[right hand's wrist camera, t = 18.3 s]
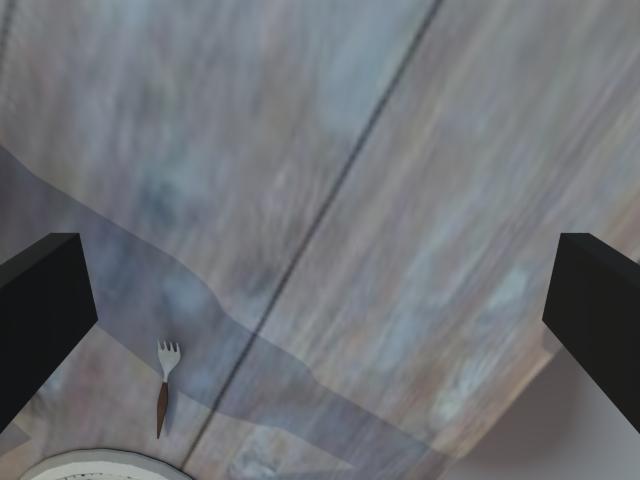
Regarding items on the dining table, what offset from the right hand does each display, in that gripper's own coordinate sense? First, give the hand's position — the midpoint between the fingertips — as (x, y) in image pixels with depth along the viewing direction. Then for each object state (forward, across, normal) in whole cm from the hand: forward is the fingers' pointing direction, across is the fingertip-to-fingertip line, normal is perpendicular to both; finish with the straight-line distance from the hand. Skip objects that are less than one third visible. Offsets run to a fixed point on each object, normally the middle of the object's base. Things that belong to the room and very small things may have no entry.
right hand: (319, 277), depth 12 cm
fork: (+32, -18, -30) cm, 48 cm away
